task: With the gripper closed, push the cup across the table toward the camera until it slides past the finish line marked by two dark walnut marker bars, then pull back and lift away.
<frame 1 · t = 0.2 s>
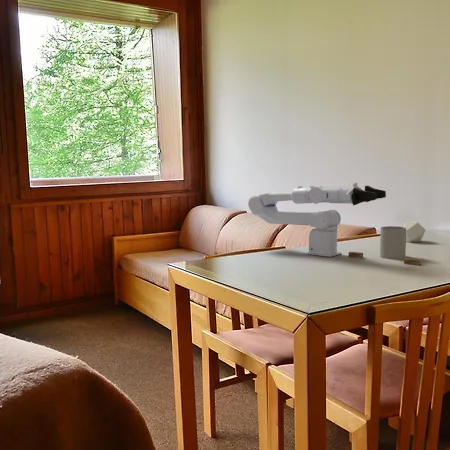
hand: (380, 195, 164), 22 cm above the table, tool horizontal, fingers open, 7 cm apart
cup: (392, 257, 173), on the table
die: (412, 241, 205), on the table
finish line: (382, 260, 167), on the table
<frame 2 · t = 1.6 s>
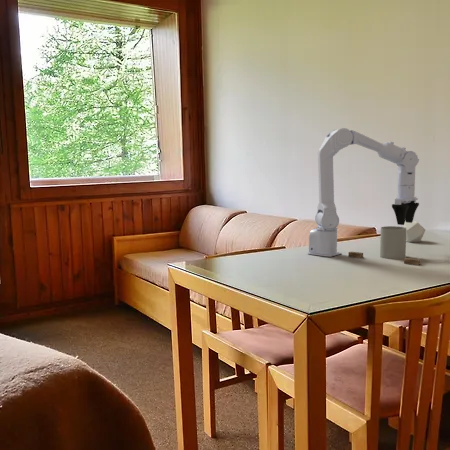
hand: (405, 223, 179), 10 cm above the table, tool pointing down, fingers open, 7 cm apart
nothing on the table moved.
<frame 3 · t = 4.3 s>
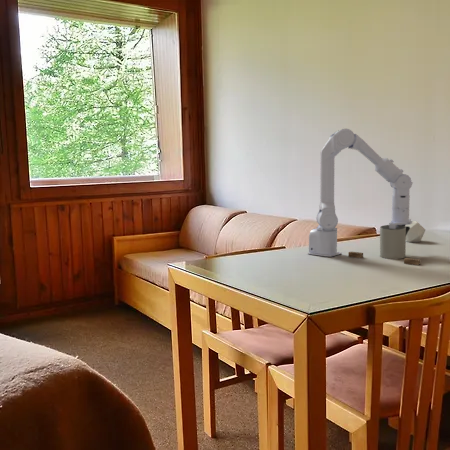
hand: (399, 246, 177), 3 cm above the table, tool pointing down, fingers closed, pressing on cup
cup: (392, 256, 173), on the table, touching gripper
everything else where it was.
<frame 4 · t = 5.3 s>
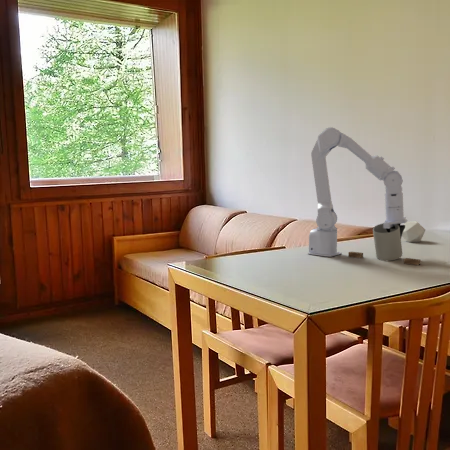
hand: (396, 246, 171), 4 cm above the table, tool pointing down, fingers closed, pressing on cup
cup: (389, 255, 170), point 1 cm above the table, touching gripper
everything else where it was.
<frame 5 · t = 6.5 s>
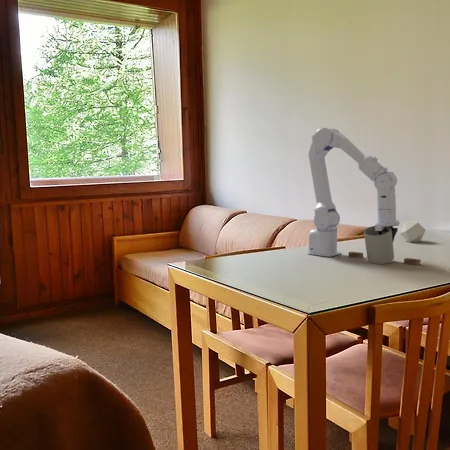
hand: (387, 249, 167), 3 cm above the table, tool pointing down, fingers closed, pressing on cup
cup: (380, 258, 165), point 1 cm above the table, touching gripper
everything else where it was.
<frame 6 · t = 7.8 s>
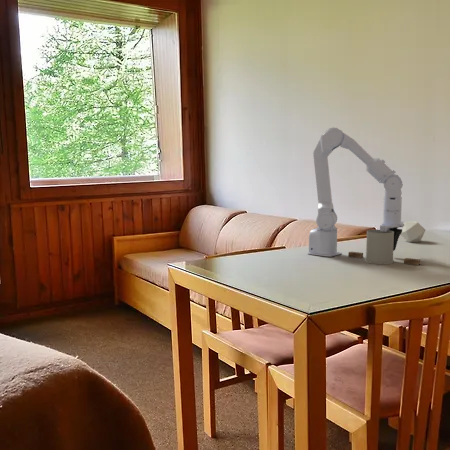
hand: (391, 250, 172), 2 cm above the table, tool pointing down, fingers closed
cup: (379, 262, 165), on the table
everything else where it was.
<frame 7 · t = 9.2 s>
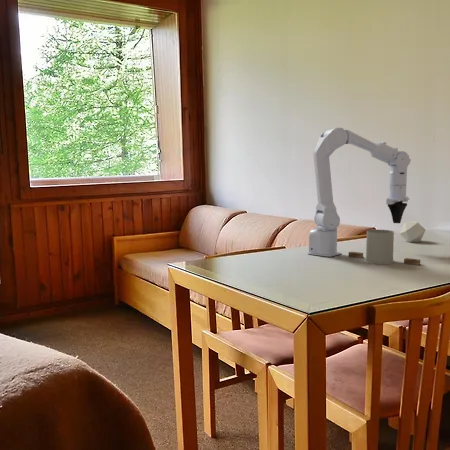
hand: (396, 223, 181), 10 cm above the table, tool pointing down, fingers closed
nothing on the table moved.
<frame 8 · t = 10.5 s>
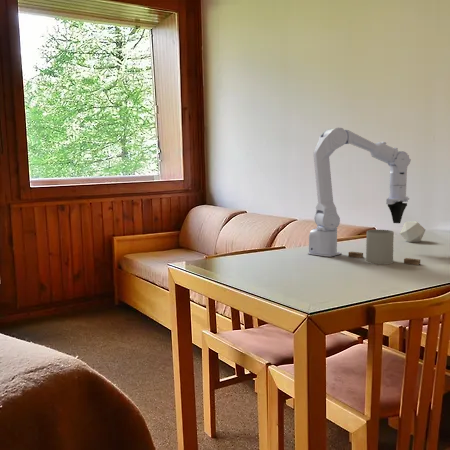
hand: (396, 223, 181), 10 cm above the table, tool pointing down, fingers closed
nothing on the table moved.
at the end: cup inside the target area (6.3 cm from its centre), on the table; cup tilted 0°; cup moved 10.7 cm from its start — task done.
